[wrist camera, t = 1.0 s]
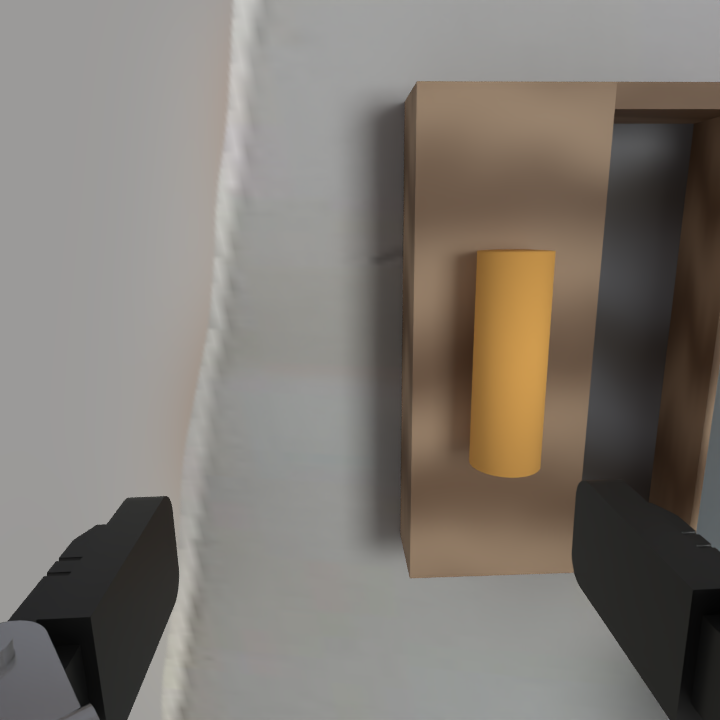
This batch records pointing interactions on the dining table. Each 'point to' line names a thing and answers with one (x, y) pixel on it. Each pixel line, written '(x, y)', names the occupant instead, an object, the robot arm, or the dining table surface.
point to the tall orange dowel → (510, 360)
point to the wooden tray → (559, 305)
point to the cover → (712, 482)
